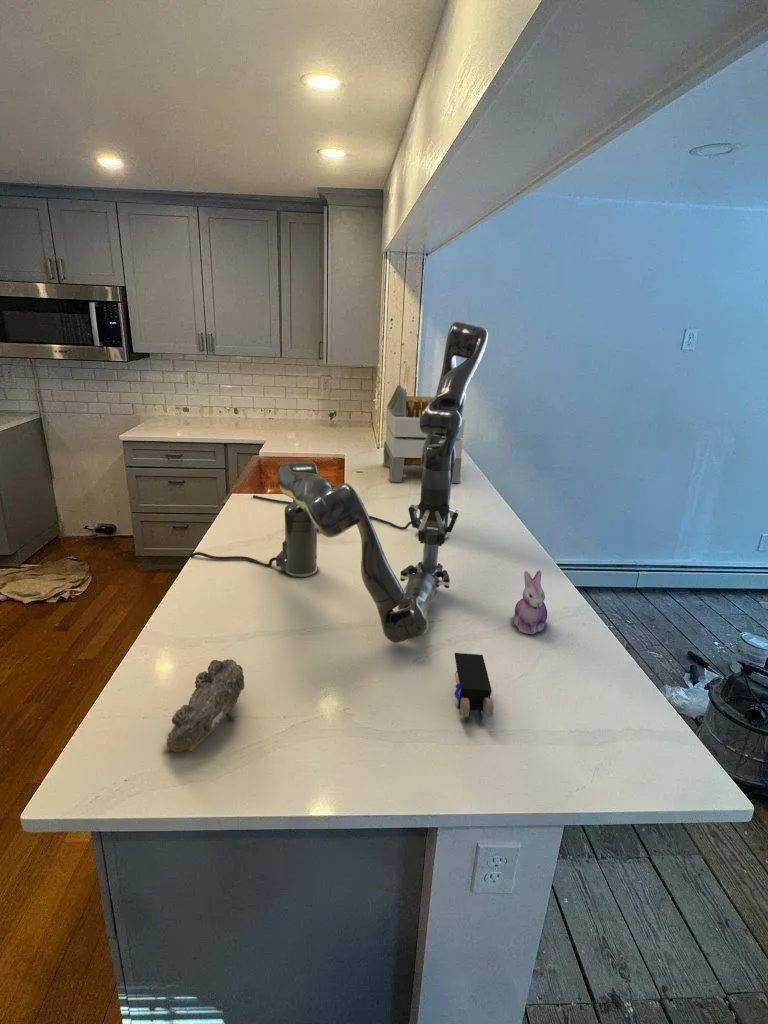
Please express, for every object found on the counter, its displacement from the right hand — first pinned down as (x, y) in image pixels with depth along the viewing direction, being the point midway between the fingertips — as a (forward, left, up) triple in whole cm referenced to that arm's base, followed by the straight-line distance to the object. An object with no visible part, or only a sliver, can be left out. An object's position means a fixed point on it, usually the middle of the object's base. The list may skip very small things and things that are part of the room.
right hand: (431, 543), depth 156 cm
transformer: (-66, +102, -15) cm, 123 cm away
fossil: (-5, -71, -15) cm, 73 cm away
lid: (0, 0, +3) cm, 3 cm away
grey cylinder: (0, 0, -15) cm, 15 cm away
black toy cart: (+32, -37, -15) cm, 51 cm away
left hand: (-1, +3, -8) cm, 8 cm away
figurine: (+30, 0, -15) cm, 34 cm away
